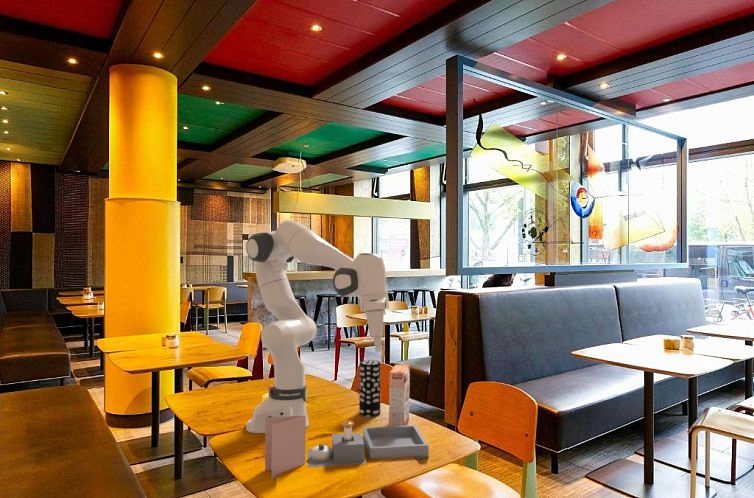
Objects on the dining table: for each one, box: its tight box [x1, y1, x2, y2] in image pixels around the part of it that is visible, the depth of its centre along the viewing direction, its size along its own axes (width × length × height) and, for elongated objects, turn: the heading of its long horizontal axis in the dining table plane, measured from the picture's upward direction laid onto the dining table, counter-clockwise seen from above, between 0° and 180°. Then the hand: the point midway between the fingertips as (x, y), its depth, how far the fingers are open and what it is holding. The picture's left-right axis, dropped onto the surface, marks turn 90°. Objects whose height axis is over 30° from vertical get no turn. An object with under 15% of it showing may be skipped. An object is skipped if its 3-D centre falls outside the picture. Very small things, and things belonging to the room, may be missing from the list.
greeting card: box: [264, 416, 306, 480], centre depth 137 cm, size 11×7×15 cm, turn 100°
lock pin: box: [341, 420, 355, 442], centre depth 146 cm, size 4×4×10 cm
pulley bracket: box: [307, 432, 367, 468], centre depth 146 cm, size 17×13×6 cm
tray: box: [362, 424, 430, 460], centre depth 154 cm, size 18×18×4 cm
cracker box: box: [388, 364, 411, 426], centre depth 176 cm, size 14×6×21 cm, turn 168°
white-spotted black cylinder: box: [358, 359, 382, 418], centre depth 190 cm, size 8×8×20 cm
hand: (378, 350), depth 146 cm, fingers open, 8 cm apart
